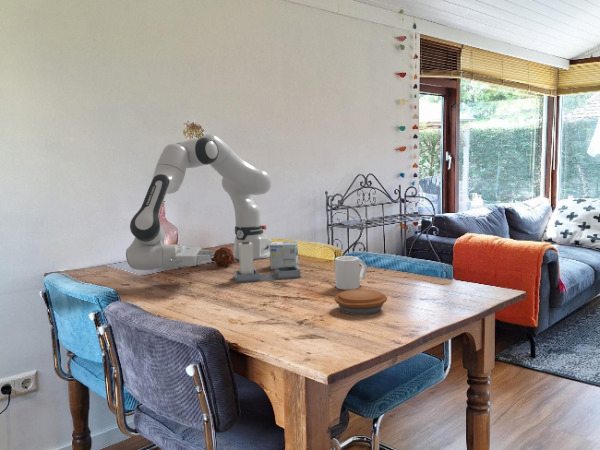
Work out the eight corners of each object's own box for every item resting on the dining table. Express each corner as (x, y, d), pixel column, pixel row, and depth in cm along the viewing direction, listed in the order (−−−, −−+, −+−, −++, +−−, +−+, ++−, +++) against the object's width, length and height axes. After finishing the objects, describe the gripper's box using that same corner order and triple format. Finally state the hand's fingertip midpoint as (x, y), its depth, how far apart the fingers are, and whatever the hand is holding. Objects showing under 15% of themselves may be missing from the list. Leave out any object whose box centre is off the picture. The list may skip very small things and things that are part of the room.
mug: (344, 290, 188) (344, 261, 186) (330, 285, 195) (329, 258, 194) (373, 285, 194) (373, 257, 192) (358, 281, 201) (358, 253, 200)
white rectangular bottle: (241, 280, 203) (239, 242, 201) (240, 278, 207) (238, 241, 205) (254, 279, 204) (252, 242, 202) (252, 277, 208) (250, 240, 206)
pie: (353, 299, 177) (353, 284, 176) (397, 307, 167) (396, 290, 166) (323, 311, 165) (323, 295, 164) (369, 320, 155) (368, 302, 154)
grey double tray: (236, 286, 199) (236, 276, 198) (232, 279, 210) (232, 269, 210) (302, 280, 204) (302, 271, 204) (295, 273, 216) (295, 265, 215)
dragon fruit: (228, 272, 230) (217, 271, 240) (242, 257, 234) (230, 257, 244) (215, 257, 228) (204, 257, 238) (229, 242, 231) (218, 243, 241)
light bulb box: (298, 267, 228) (297, 241, 226) (297, 271, 221) (296, 244, 219) (272, 267, 229) (271, 241, 227) (270, 271, 222) (269, 244, 221)
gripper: (167, 252, 191) (208, 251, 192) (176, 243, 212) (213, 242, 213) (168, 271, 192) (209, 269, 193) (177, 260, 212) (214, 258, 213)
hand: (211, 255), depth 203 cm, fingers open, 8 cm apart
